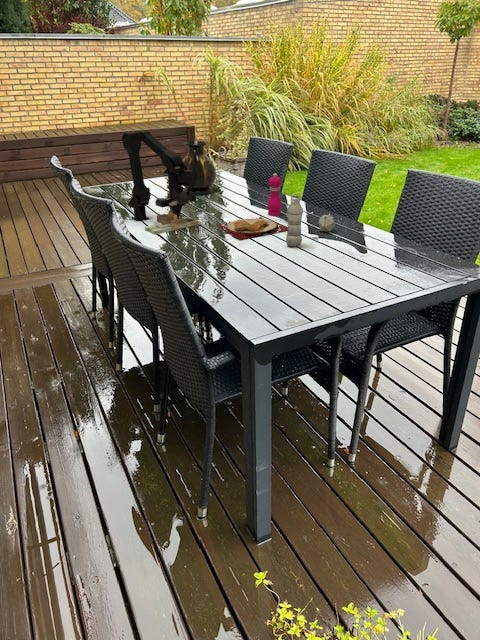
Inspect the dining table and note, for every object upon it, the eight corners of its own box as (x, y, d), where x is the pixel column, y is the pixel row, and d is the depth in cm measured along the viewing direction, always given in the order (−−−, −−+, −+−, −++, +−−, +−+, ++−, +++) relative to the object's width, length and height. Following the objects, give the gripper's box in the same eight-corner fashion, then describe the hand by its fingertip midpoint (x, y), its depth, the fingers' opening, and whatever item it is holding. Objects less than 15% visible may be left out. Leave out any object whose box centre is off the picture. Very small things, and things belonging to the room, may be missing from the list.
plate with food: (290, 232, 218) (290, 224, 216) (239, 241, 206) (239, 233, 204) (260, 220, 237) (260, 212, 235) (212, 227, 225) (212, 219, 223)
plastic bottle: (303, 243, 201) (305, 195, 192) (299, 249, 195) (301, 199, 186) (288, 242, 203) (289, 194, 194) (283, 247, 197) (285, 198, 188)
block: (157, 223, 221) (156, 215, 220) (165, 221, 224) (164, 213, 222) (162, 225, 218) (161, 217, 217) (170, 223, 221) (170, 215, 219)
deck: (145, 230, 221) (144, 221, 219) (189, 220, 234) (188, 211, 233) (155, 234, 215) (154, 225, 213) (199, 224, 228) (199, 215, 226)
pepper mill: (280, 216, 237) (281, 174, 228) (266, 216, 239) (266, 174, 230) (282, 212, 244) (283, 172, 234) (268, 212, 245) (268, 171, 236)
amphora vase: (215, 196, 276) (213, 144, 263) (177, 197, 276) (174, 145, 263) (217, 188, 295) (215, 139, 282) (182, 188, 295) (179, 139, 282)
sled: (154, 225, 222) (153, 215, 220) (171, 221, 227) (170, 212, 225) (161, 227, 217) (160, 218, 215) (178, 224, 222) (177, 214, 220)
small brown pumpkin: (329, 239, 218) (343, 221, 215) (324, 237, 210) (339, 219, 207) (314, 226, 220) (328, 209, 217) (309, 225, 212) (324, 206, 209)
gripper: (166, 190, 207) (169, 226, 214) (202, 184, 217) (203, 218, 224) (153, 186, 214) (156, 220, 222) (188, 180, 225) (190, 213, 232)
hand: (177, 218), depth 225 cm, fingers closed
